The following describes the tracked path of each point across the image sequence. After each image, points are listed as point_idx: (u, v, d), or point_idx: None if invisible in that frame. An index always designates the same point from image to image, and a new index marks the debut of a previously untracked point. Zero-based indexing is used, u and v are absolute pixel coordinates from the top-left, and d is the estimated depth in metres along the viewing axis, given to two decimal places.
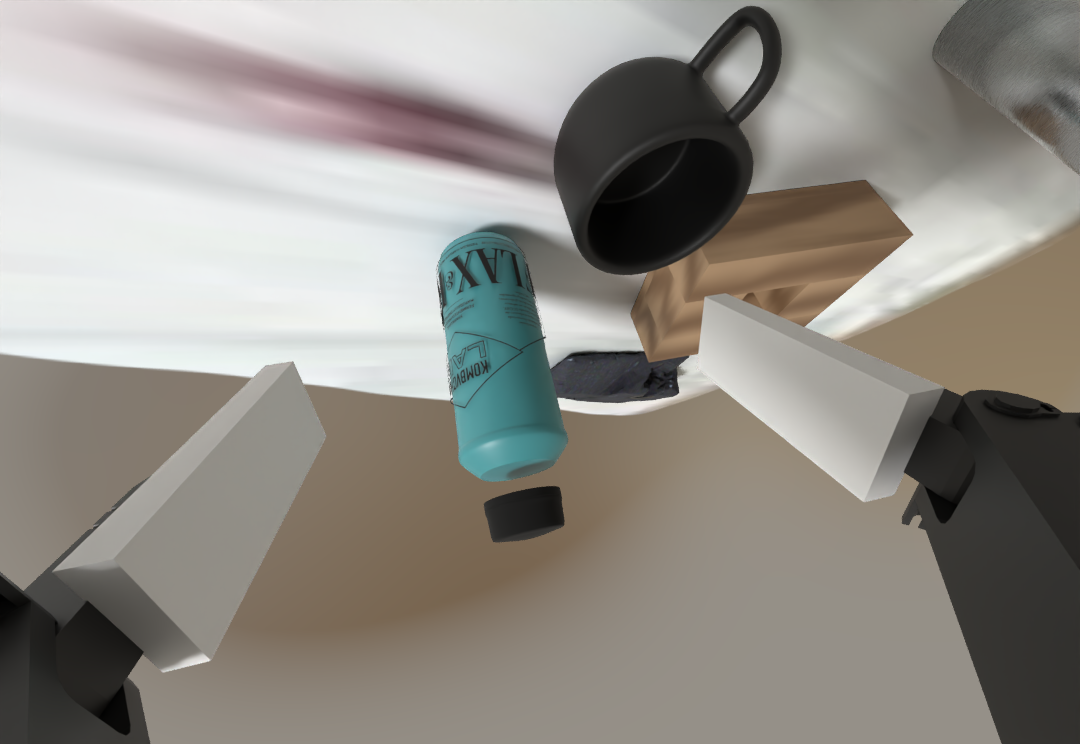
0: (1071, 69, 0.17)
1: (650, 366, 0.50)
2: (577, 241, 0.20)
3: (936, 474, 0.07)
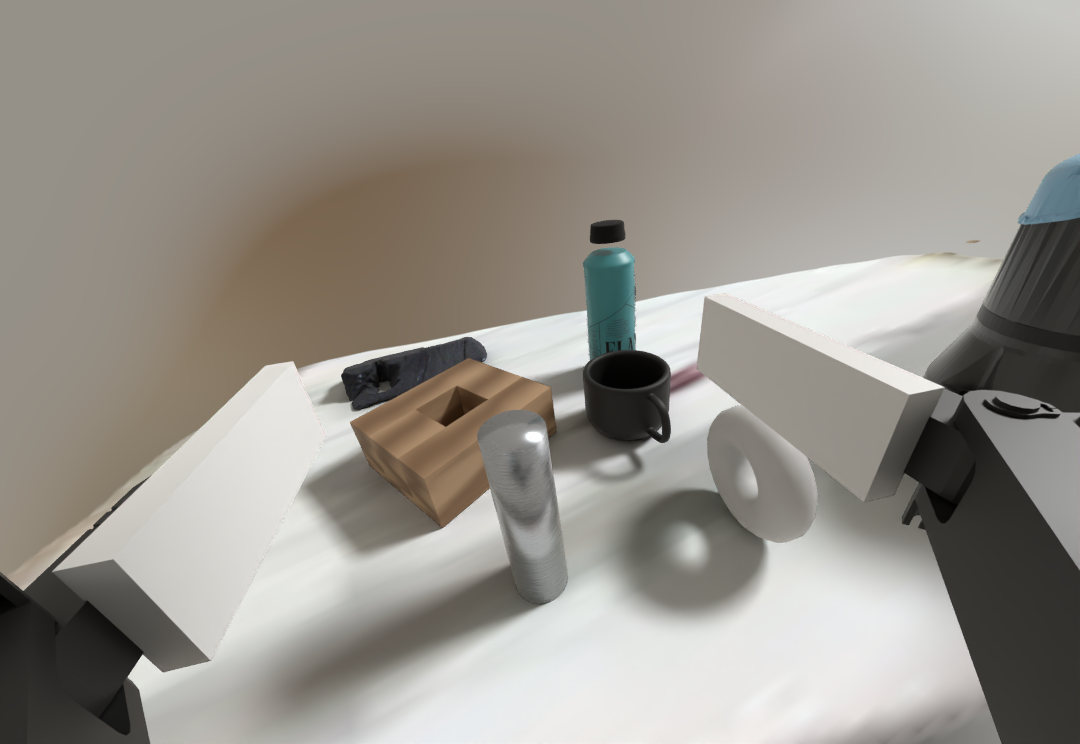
0: None
1: (403, 381, 0.55)
2: (636, 350, 0.43)
3: (936, 474, 0.07)
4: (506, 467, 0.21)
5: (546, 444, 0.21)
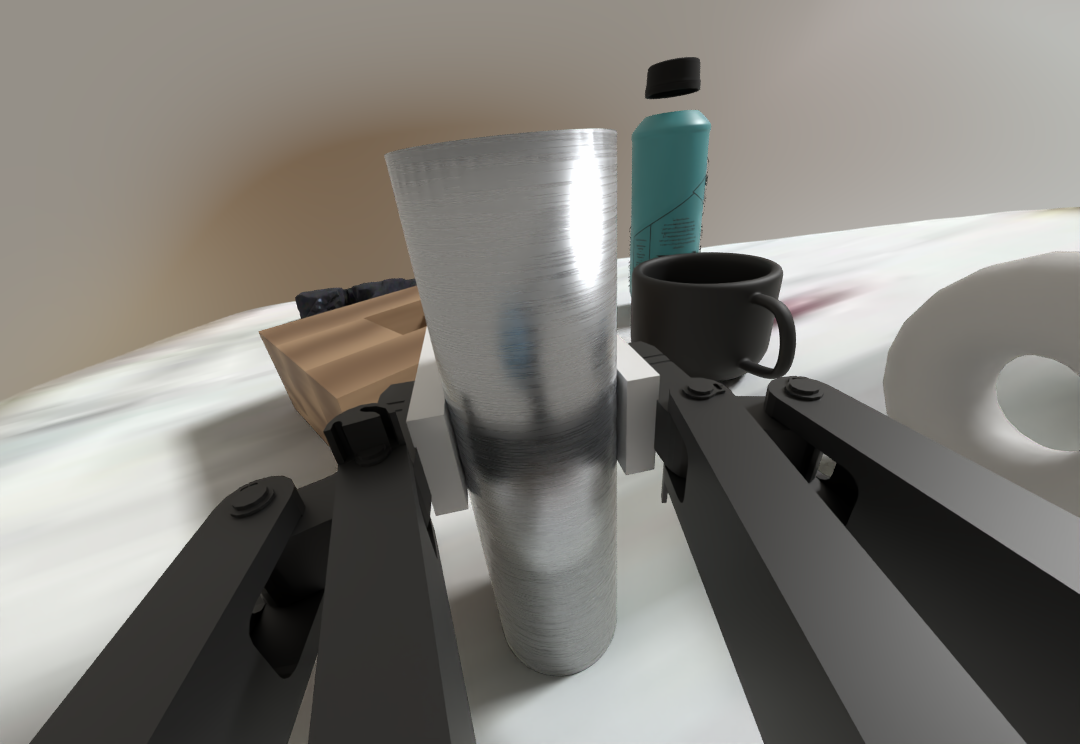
0: None
1: None
2: None
3: (670, 458, 0.08)
4: (471, 218, 0.05)
5: (614, 185, 0.06)
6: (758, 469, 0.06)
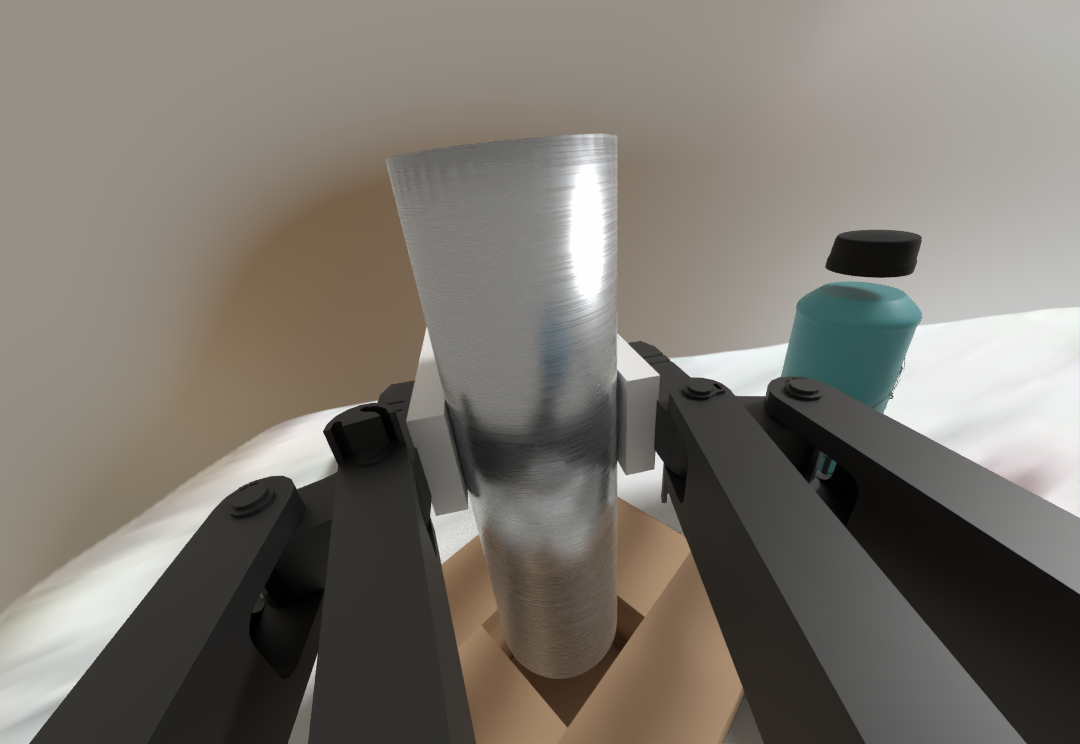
0: None
1: None
2: None
3: (670, 458, 0.08)
4: (472, 222, 0.05)
5: (615, 190, 0.06)
6: (758, 469, 0.06)
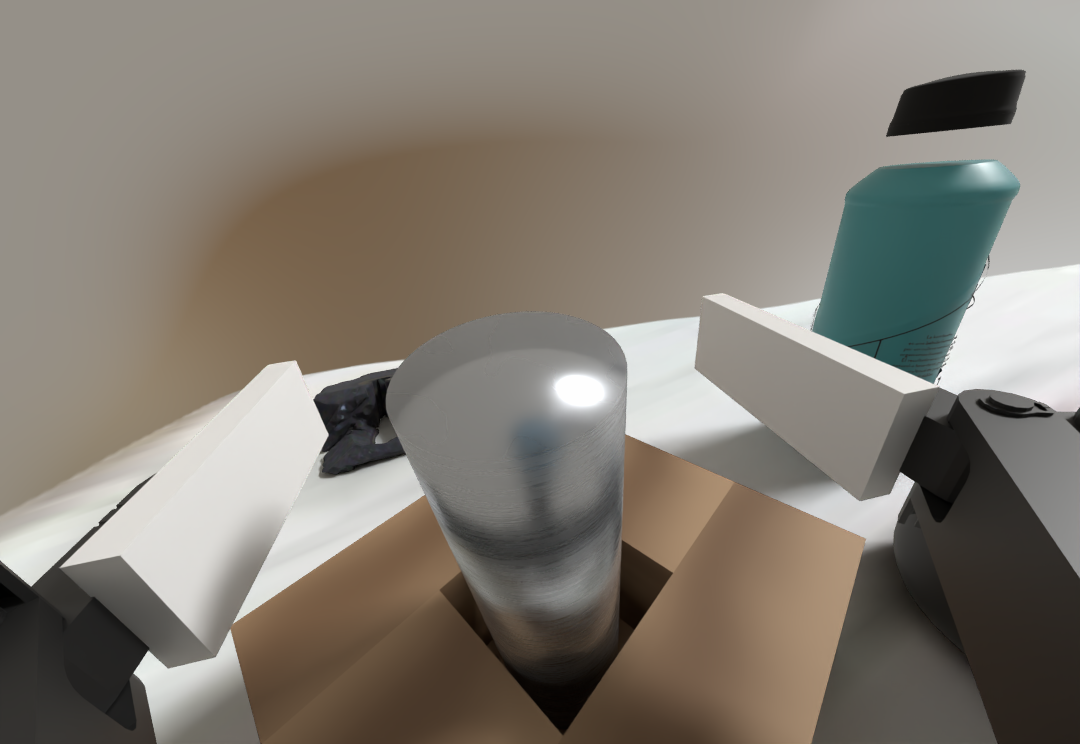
0: None
1: None
2: None
3: (931, 473, 0.07)
4: (482, 504, 0.05)
5: (624, 420, 0.06)
6: None
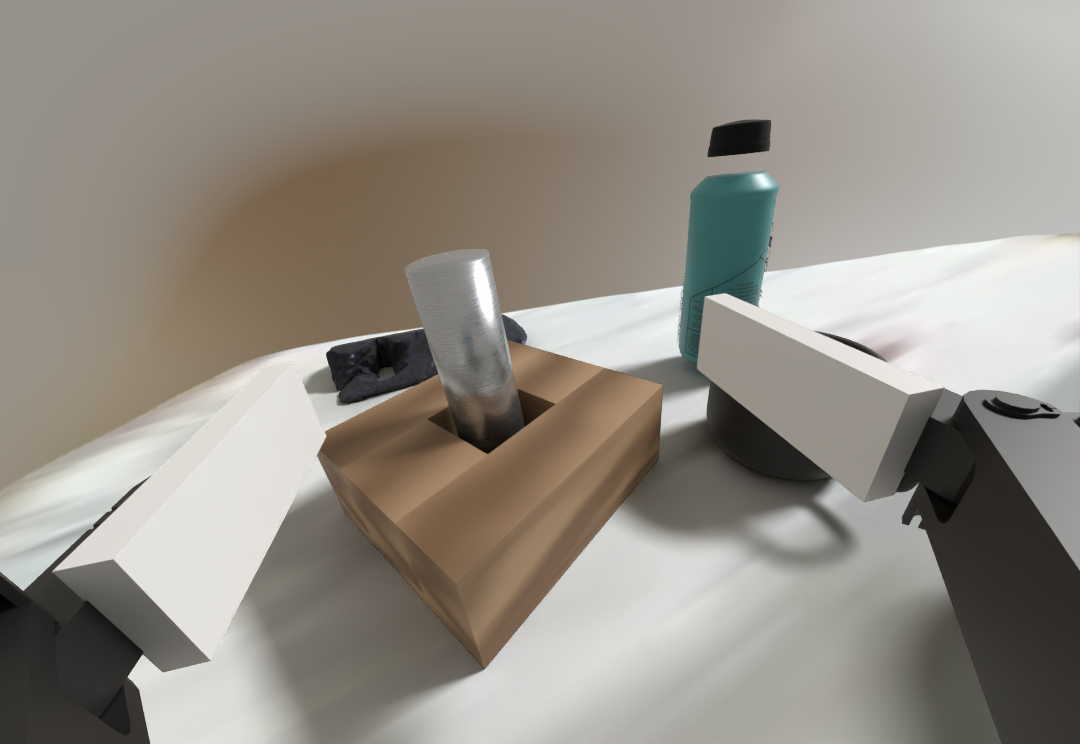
0: None
1: (412, 366, 0.39)
2: None
3: (936, 474, 0.07)
4: (436, 293, 0.17)
5: (488, 274, 0.18)
6: None
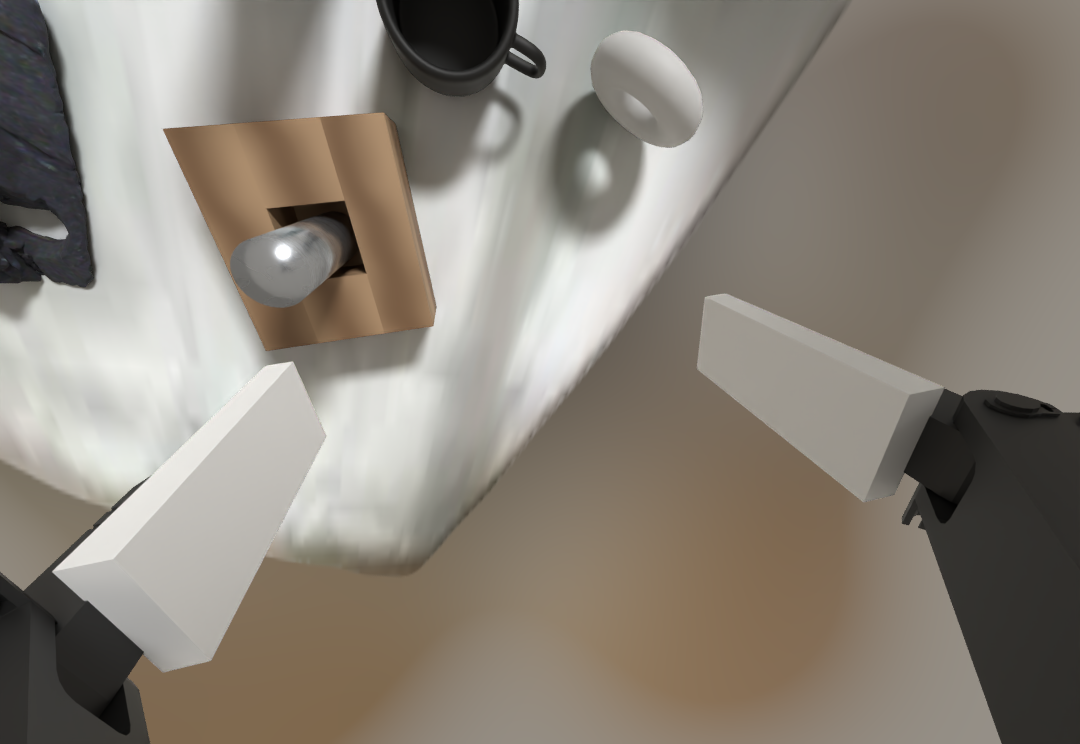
0: (316, 222, 0.27)
1: (49, 195, 0.28)
2: None
3: (936, 474, 0.07)
4: None
5: (304, 253, 0.22)
6: None
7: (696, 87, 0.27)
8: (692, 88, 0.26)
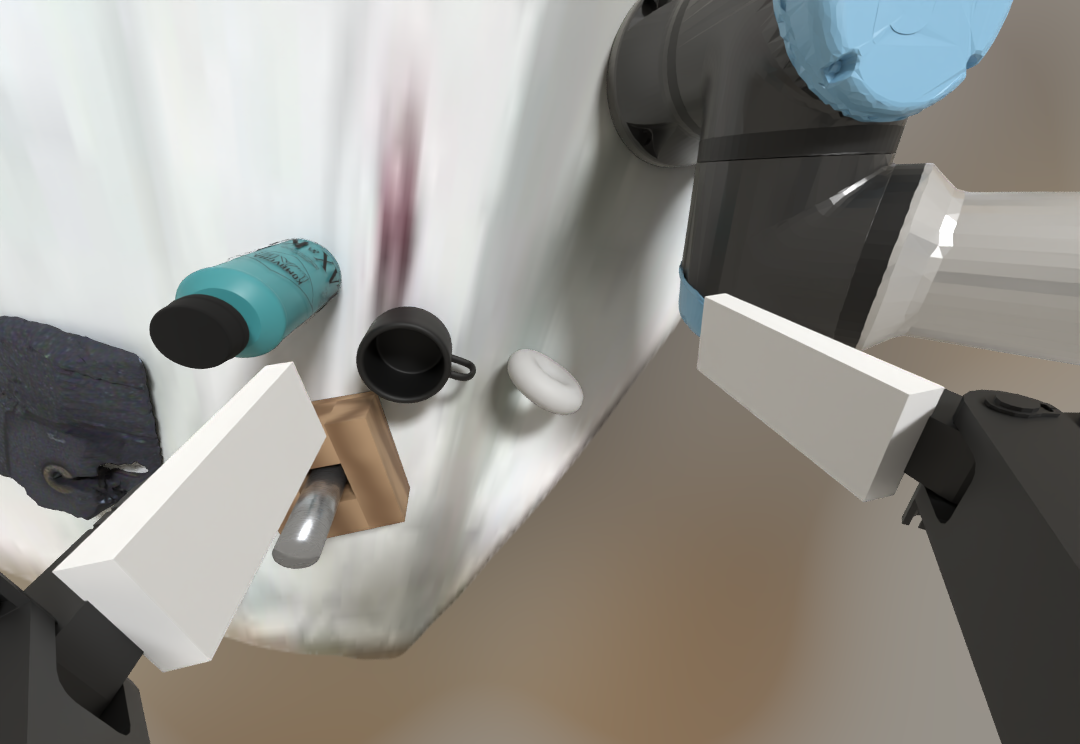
0: (322, 483, 0.41)
1: (140, 458, 0.42)
2: (381, 326, 0.36)
3: (936, 474, 0.07)
4: None
5: (316, 536, 0.36)
6: None
7: (571, 400, 0.41)
8: (567, 403, 0.40)
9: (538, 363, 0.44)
